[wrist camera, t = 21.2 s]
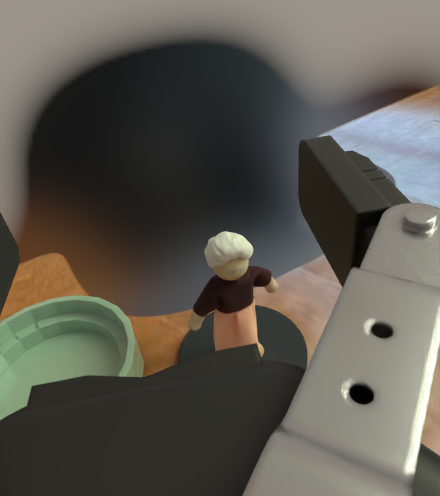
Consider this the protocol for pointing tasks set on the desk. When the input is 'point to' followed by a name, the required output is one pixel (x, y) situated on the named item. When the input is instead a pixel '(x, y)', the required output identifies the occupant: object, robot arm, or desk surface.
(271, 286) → the grandmother figurine
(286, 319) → the coaster
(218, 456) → the robot arm
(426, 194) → the desk surface
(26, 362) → the bowl
